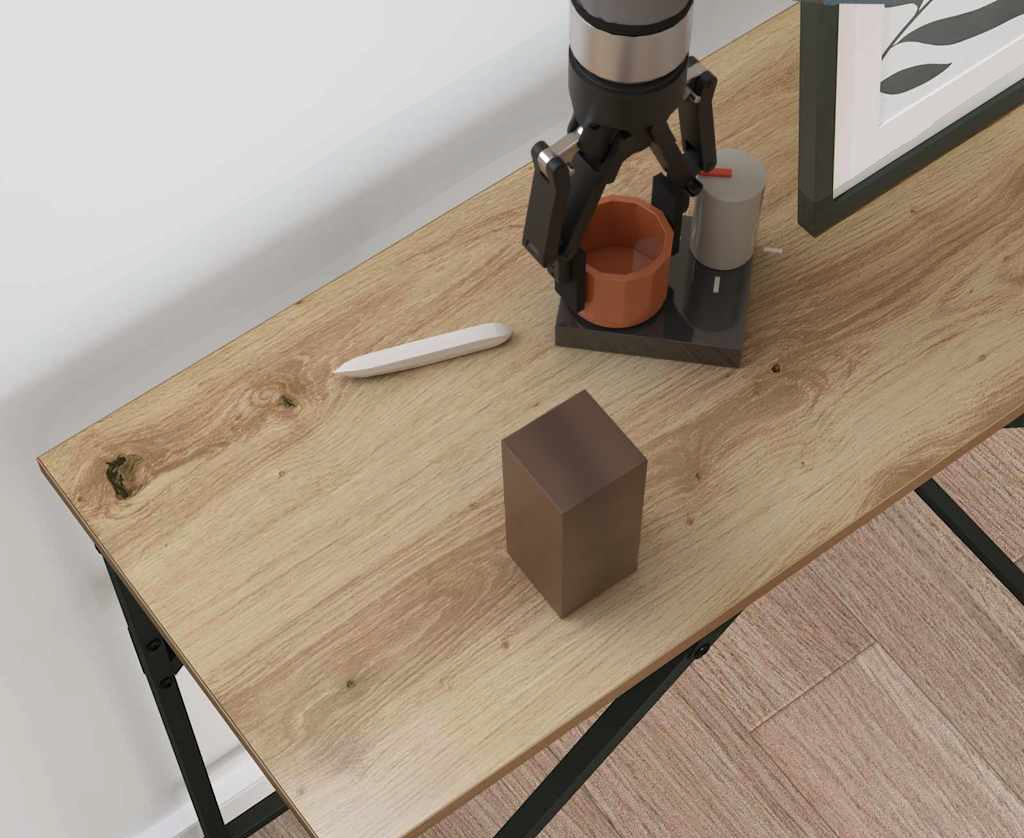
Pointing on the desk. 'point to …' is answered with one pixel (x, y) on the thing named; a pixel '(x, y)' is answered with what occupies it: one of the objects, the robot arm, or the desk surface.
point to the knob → (728, 210)
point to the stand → (573, 502)
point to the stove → (677, 316)
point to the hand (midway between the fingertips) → (617, 271)
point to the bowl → (626, 262)
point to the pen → (426, 351)
